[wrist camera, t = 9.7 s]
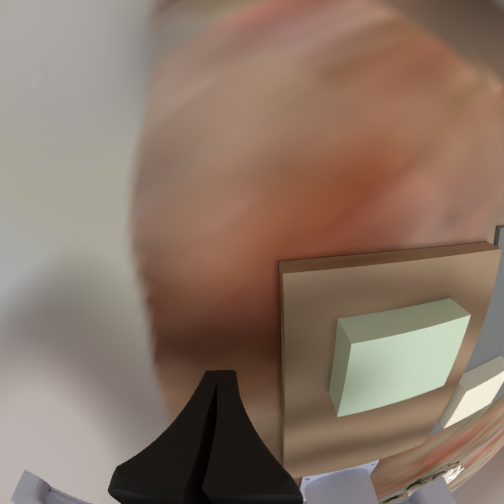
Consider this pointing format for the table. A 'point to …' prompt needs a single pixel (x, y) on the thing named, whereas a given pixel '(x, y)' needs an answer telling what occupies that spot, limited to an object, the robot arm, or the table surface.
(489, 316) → the mat
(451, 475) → the tangled rod sculpture
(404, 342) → the tile sage
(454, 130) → the table surface
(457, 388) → the tile cream
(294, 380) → the board
